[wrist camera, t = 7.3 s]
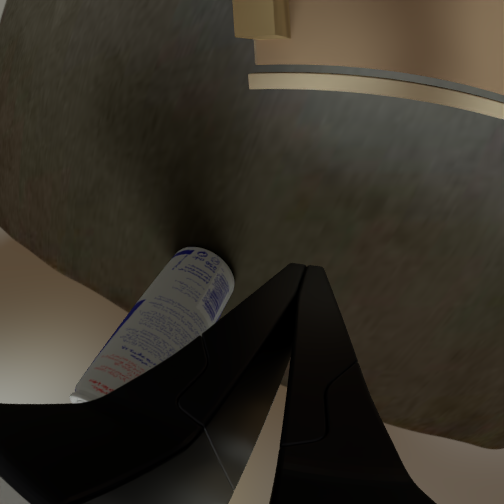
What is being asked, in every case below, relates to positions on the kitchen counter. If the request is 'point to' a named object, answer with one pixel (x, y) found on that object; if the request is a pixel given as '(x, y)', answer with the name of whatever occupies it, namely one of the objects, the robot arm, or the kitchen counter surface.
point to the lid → (382, 36)
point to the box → (375, 88)
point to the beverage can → (161, 321)
